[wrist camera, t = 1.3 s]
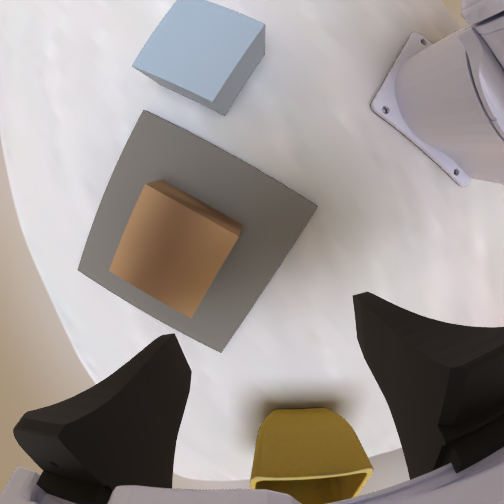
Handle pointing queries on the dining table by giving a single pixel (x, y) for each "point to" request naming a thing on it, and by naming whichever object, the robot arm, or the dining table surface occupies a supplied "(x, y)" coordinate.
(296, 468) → the flower pot
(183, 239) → the walnut block
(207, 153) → the letter mat
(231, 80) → the blue cube
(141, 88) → the dining table surface
